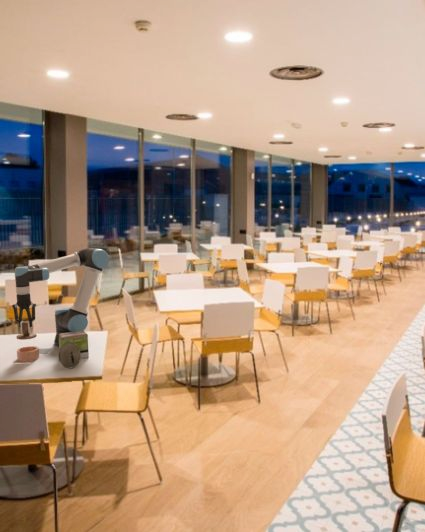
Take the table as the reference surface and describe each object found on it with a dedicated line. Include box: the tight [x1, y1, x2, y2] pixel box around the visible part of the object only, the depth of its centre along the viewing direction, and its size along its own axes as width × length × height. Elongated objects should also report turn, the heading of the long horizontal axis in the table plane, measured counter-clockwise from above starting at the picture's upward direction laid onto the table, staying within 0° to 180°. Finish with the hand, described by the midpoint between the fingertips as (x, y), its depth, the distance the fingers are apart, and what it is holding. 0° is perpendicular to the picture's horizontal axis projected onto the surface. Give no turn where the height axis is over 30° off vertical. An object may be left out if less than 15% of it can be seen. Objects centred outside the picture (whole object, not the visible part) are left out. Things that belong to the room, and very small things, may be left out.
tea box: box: [58, 330, 90, 360], centre depth 323 cm, size 15×10×15 cm, turn 117°
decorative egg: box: [58, 341, 81, 369], centre depth 305 cm, size 12×12×15 cm
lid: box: [16, 321, 37, 340], centre depth 321 cm, size 11×11×9 cm
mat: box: [39, 347, 52, 355], centre depth 336 cm, size 11×11×1 cm
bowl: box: [16, 345, 40, 362], centre depth 323 cm, size 12×12×6 cm
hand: (26, 332), depth 321 cm, fingers closed on lid, 3 cm apart
